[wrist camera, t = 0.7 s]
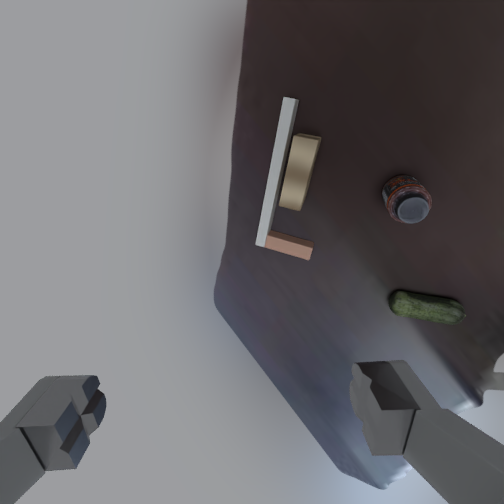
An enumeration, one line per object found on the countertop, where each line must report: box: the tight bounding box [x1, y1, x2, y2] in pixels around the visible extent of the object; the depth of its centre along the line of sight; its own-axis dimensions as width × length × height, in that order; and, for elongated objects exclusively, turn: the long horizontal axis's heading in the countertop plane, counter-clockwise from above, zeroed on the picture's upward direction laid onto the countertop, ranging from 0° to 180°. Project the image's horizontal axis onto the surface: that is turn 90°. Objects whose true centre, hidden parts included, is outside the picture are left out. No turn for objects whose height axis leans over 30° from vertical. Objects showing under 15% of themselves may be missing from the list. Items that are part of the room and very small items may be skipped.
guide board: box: [255, 97, 314, 260], centre depth 49 cm, size 28×12×4 cm, turn 170°
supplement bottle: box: [382, 175, 432, 223], centre depth 41 cm, size 6×6×11 cm
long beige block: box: [279, 133, 322, 211], centre depth 46 cm, size 12×4×7 cm, turn 171°
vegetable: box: [389, 291, 466, 325], centre depth 52 cm, size 14×5×5 cm, turn 91°
